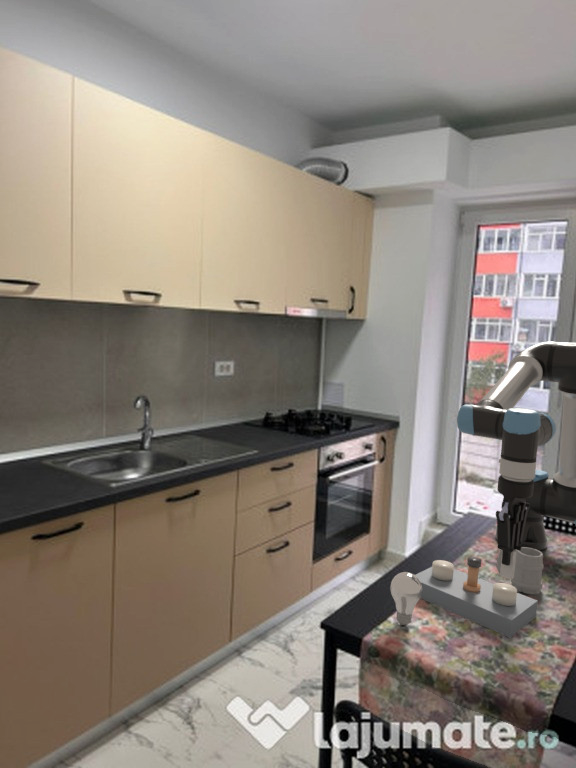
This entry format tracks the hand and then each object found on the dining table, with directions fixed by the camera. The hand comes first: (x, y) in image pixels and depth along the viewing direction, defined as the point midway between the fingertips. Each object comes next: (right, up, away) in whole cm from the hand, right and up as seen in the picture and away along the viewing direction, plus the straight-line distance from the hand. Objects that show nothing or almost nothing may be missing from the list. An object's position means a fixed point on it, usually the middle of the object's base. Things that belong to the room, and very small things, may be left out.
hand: (506, 576), depth 131 cm
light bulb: (-25, -9, -5) cm, 27 cm away
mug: (+10, -9, +18) cm, 23 cm away
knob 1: (-12, -8, +12) cm, 19 cm away
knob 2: (-1, -10, +1) cm, 10 cm away
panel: (-6, -9, +6) cm, 13 cm away
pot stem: (-6, -5, +6) cm, 10 cm away
